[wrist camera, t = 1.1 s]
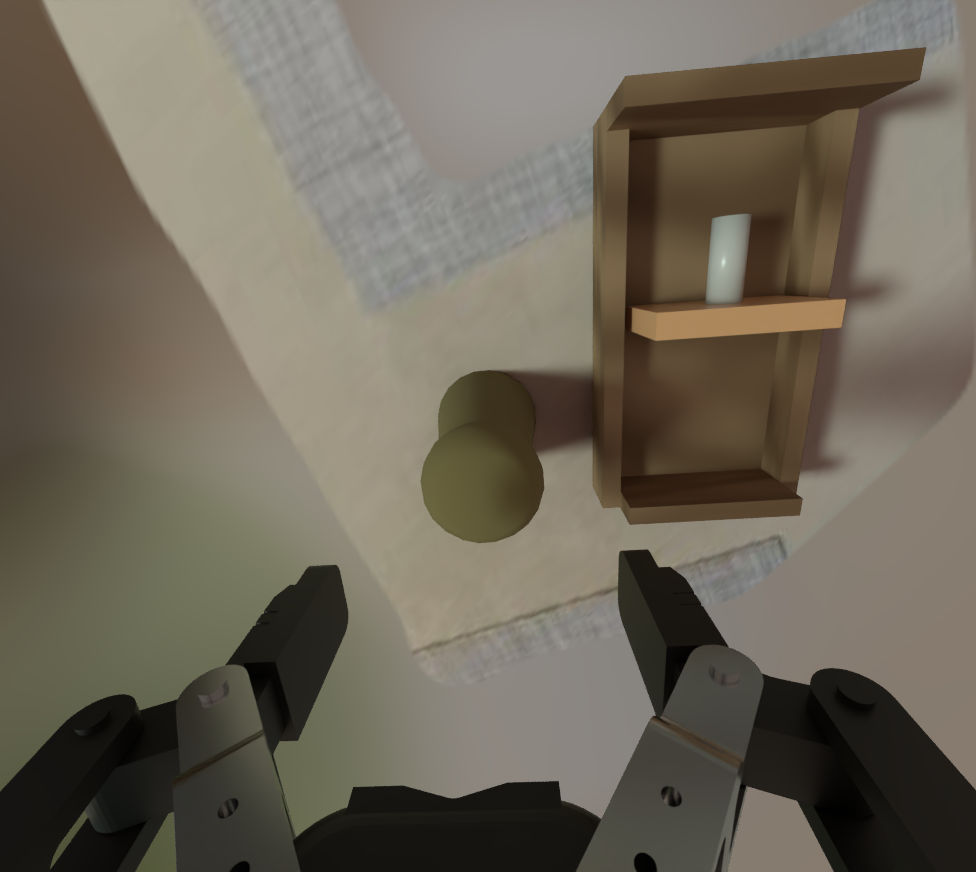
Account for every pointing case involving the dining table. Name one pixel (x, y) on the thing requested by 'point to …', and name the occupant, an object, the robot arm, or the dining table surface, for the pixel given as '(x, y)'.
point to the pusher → (732, 299)
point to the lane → (684, 267)
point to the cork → (484, 460)
